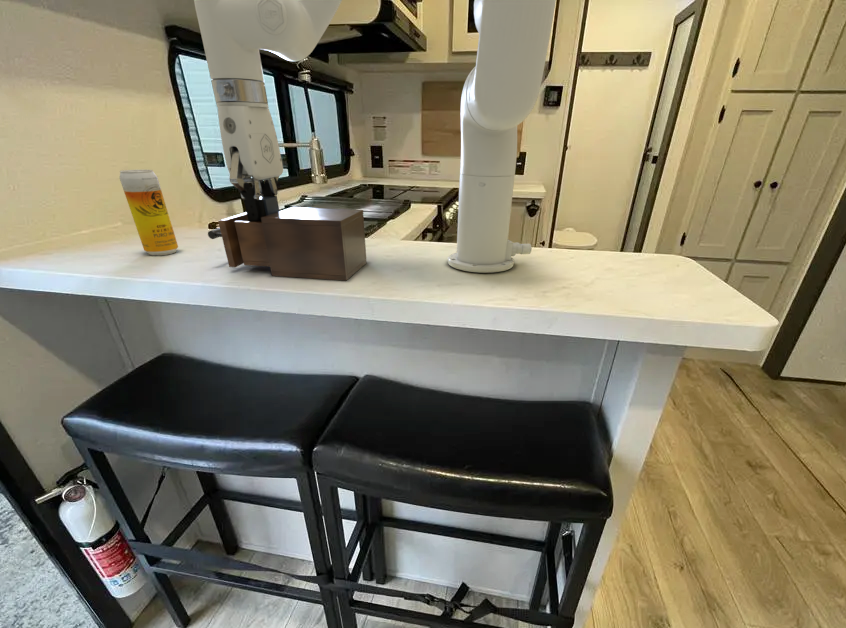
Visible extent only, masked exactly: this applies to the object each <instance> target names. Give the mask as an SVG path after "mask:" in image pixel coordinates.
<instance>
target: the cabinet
mask: <svg viewBox="0 0 846 628" xmlns="http://www.w3.org/2000/svg"><path fill="white" fill-rule="evenodd" d="M364 219H365V218H364V209H353V208H352V209H351V208H350V209H349V208H326V207H301V206H292V207H288V208H285V209H283V210H279V212H276V213H273V214H270V215H267V216H264V217H261V221H262V226H263V231H264V237H265V242H266V247H267V252H268V258H269V263H270V267H269V268H270V272H271V276H272V277H283V278H284V277H285V278H297V279H298V278H301V279H313V280H314V279H315V280H330V281H331V280H332V281H346V282H347V281H348V280H349V279H350V278H351V277H353V276H354V275H355V274H356V273H358V271H360V270H361V269H362V268H363V267H364V266H366V264H367V263H368V261H367V249H366V248H367V246H366V234H365V233H366V231H365V220H364Z"/></svg>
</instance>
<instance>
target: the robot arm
mask: <svg viewBox="0 0 846 628" xmlns="http://www.w3.org/2000/svg"><path fill="white" fill-rule="evenodd" d="M342 2H343V0H193V3H194V9H195V13H196V18H197V21H198V22H197V23H198V26H199V30H200V35H201V40H202V45H203V49H204V50H203V51H204V54H205V58H206V63H207V68H208V71H209V76H210V80H211V81H210V82H211V85H212V90H213V95H214V99H215V103H216V107H217V115H218V124H219V132H220V139H221V144H222V151H223V154H224V159H225V163H226V167H227V170H228V173H229V182H230V184H231V185H232V186H234V187H235V188H236V189H237V191H238V192H239V193H240V197H241V199H242V200H243V201H244V207H245V213H246V212H247V217H248V221H250V222H262V221H261V217H264V216H266V212H265V207H264V202H263V199H260V196H263V197H277V198H278V193H279V191H278V188H277V186H278V180H279V178H280V176H282V174H283V173H284V165H283V159H282V155H281V149H280V145H279V141H278V136H277V131H276V128H275V124H274V121H273V117H272V114H271V111H270V108H269V107H270V106H269V102H268V101H269V100H268V95H267V90H266V84H265V78H264V77H265V76H264V72H263V65H262V59H261V54H260V50H262V51H268V52H271V53H273V54H275V55H277V56H279V57H280V58H282V59H284V60H286V61H289V62H300V61H302V60H304V59H306V58H307V57H308V56H310V55H311V53H313V51H314V50H315V48H316V47H317V46H318V44H319V42H320V40H321V39H322V37H323V35H324V34H325V32H326V30H327V29H328V27H329V25H330V24H331V22H332V21H333V18H334V17H335V16H336V13H337V11H338V9H339V7H340V5H341V4H342ZM556 2H557V0H474V1H473V19H474V24H475V28H476V30H477V32H478V42H477V49H476V60H475V66H474V67H473V68H472V69H471V71H470V72H469V74H468V75H467V77H466V79H465V81H464V84H463V87H462V92H461V95H460V96H461V97H460V162H459V163H460V164H459V165H460V166H459V184H458V206H457V209H458V210H457V232H456V252H453V253H452V254H450V255H449V256H448V257H447V263H448V265H449V266H451V267H452V268H454V269H457V270H459V271H463V272H464V271H465V272H470V273H480V274H481V273H486V274H487V273H501V272H504V271H508V270H511V269H512V268H513V267H514V264H515V263H514V262H515V259H514V258H513V257H515V256H516V255H530V254H531V253H532V248H533V247H532V244H531V243H520V242H513V241H512V240H510V239H509V233H510V223H511V215H512V205H513V204H512V203H513V195H514V194H513V193H514V186H515V185H514V183H515V175H516V169H517V168H516V167H517V154H518V126H519V125H520V124H522V123H523V122H524V121H525V120H526V119H527V118H528V117H529V116H530V114H531V113H532V111H533V110H534V107H535V105H536V103H537V101H538V97H539V94H540V91H541V87H542V81H543V76H544V70H545V65H546V62H547V61H546V59H547V55H548V48H549V44H550V37H551V33H552V26H553V21H554V14H555V10H556ZM250 184H251V185H250Z"/></svg>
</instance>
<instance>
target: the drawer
mask: <svg viewBox="0 0 846 628" xmlns="http://www.w3.org/2000/svg"><path fill="white" fill-rule="evenodd" d="M217 221H218V226H219V227H218V228H215V229H214V228H213V229H212V230H209V231H208V232H207V236H208V238H209V239H211V240H215V239H218V238H221V240H222V243H223V247H224V250H225V255H226V259H227V263H228V267H229V268H237V267H239V266H241V265H243V266H251V267H252V266H253V267H269V268H270V263H269V258H268V252H267V247H266V242H265V237H264V231H263V226H262V222H250V221H248V217H247V212H246V211H245V212H243V213H239V214H236V215H233V216H232V215H231V216H228V217H225V218H222V219H218V220H217Z"/></svg>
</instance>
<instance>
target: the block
mask: <svg viewBox="0 0 846 628" xmlns="http://www.w3.org/2000/svg"><path fill="white" fill-rule="evenodd" d="M260 199H263V202H264V207H265V212H266V216H267V215H270V214H273V213H276V212H279V211H280V207H279V206H280V205H279V201H278V196H277V197H263V196H260Z"/></svg>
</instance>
